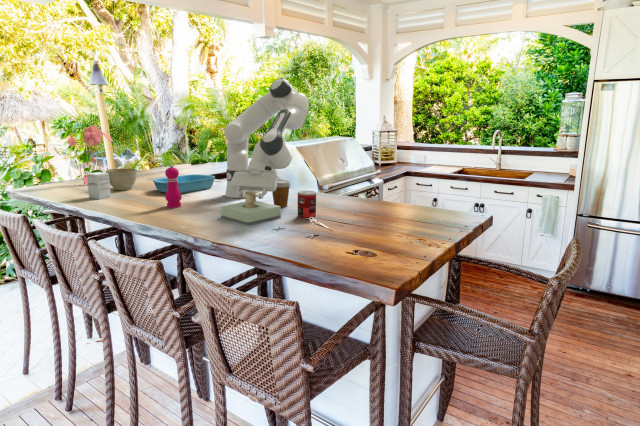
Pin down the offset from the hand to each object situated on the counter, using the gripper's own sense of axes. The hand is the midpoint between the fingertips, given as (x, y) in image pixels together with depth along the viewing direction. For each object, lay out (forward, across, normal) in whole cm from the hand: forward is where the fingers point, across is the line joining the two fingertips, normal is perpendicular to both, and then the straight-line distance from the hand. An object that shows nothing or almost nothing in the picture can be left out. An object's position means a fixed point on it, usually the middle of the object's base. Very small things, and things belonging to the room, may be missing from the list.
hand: (249, 197), depth 182 cm
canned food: (0, +23, +12) cm, 26 cm away
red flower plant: (-30, -116, +44) cm, 127 cm away
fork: (+10, +33, +3) cm, 35 cm away
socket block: (+6, 0, +7) cm, 9 cm away
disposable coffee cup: (-12, +6, +25) cm, 28 cm away
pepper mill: (-1, -42, +14) cm, 45 cm away
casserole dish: (-31, -59, +44) cm, 80 cm away
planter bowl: (-24, -93, +38) cm, 103 cm away
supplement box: (-7, -88, +20) cm, 91 cm away
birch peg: (+5, 0, +6) cm, 8 cm away
